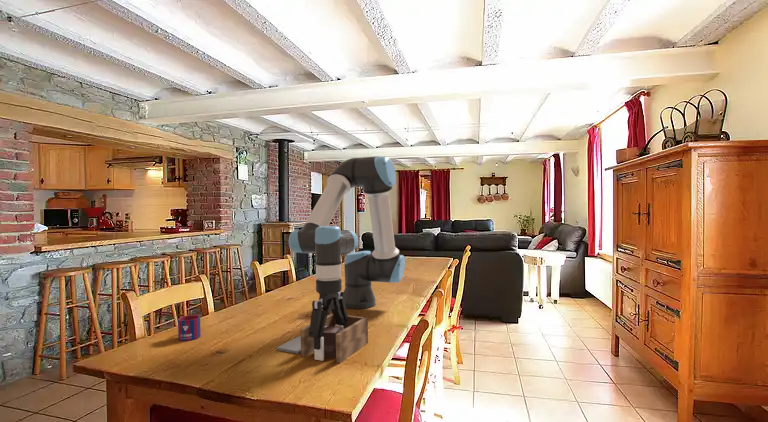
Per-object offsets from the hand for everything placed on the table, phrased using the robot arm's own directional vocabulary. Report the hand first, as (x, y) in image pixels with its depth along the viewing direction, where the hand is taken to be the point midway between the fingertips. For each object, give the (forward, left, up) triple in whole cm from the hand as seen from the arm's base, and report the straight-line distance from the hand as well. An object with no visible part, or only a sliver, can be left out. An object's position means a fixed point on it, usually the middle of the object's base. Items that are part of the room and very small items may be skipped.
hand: (329, 352), depth 114 cm
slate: (-2, -12, 0) cm, 13 cm away
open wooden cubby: (-3, 0, 0) cm, 3 cm away
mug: (+5, -52, 0) cm, 53 cm away
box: (0, 0, -1) cm, 1 cm away
